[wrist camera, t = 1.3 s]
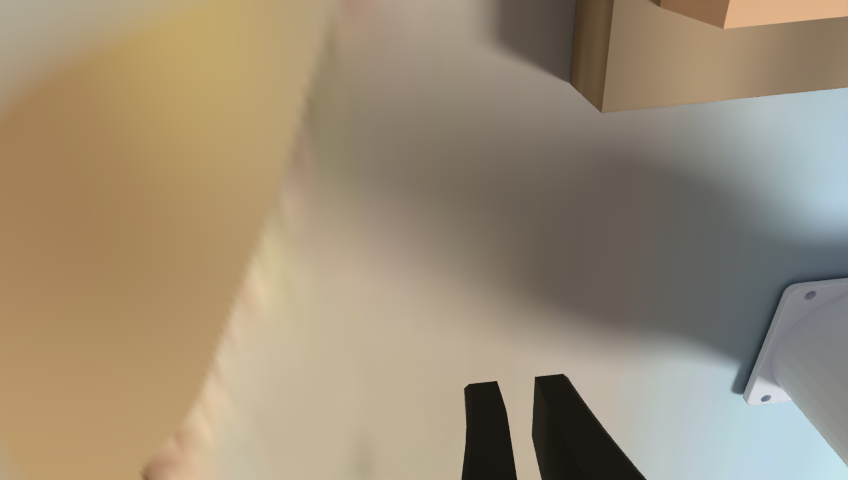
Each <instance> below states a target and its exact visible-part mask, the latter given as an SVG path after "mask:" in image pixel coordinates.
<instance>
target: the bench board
mask: <svg viewBox="0 0 848 480" xmlns="http://www.w3.org/2000/svg"><path fill="white" fill-rule="evenodd" d="M660 2H661V0H577V1H576V14H575V27H574V41H573V54H572V68H571V81H570V84H571V85H572V86H573V87H574V88H575V89H576V90H577V91H578V92H579V93H581V94H582V95H583V96H584V97H585V98H586V99H587V100H588V101H589V102H590V103H591V104H592V105H594V106H595V107H596V108H597V109H598V110H599V111H600V112H601V113H606V112H615V111H625V110H635V109H644V108H654V107H663V106H673V105H683V104H692V103H702V102H712V101H721V100H731V99H740V98H750V97H760V96H769V95H779V94H789V93H798V92H808V91H817V90H827V89H837V88H846V87H848V16H845V17H835V18H825V19H815V20H806V21H796V22H786V23H777V24H767V25H757V26H747V27H738V28H728V29H722V28H719V27H716V26H713V25H710V24H707V23H704V22H702V21H699V20H696V19H693V18H690V17H687V16H684V15H681V14H678V13H675V12H672V11H669V10H666V9H664V8H661V7H660Z"/></svg>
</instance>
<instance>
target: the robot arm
mask: <svg viewBox="0 0 848 480" xmlns="http://www.w3.org/2000/svg"><path fill="white" fill-rule="evenodd" d="M464 392H465V409H466V426H467V427H466V445H465V454H464V463H463V471H462V480H517V476H516V469H515V463H514V456H513V450H512V443H511V437H510V430H509V424H508V418H507V412H506V408H505V405H504V402H503V398H502V395H501V392H500V389H499V386H498V383H497V381H493V382H484V383H475V384H469V385H468V386H466V387H465V388H464ZM743 398H744V400H745V401H746V403H747V404H749V405H759V404H769V403H778V402H787V401H793V402H794V403H795V404H796V405H797V407H798V408H799V409H800V410H801V411H802V413H803V414H804V415H805V416H806V417H807V418H808V420H809V421H810V422H811V423H812V424H813V426H814V427H815V428H816V429H817V430H818V432H819V433H820V434H821V435H822V436H823V438H824V439H825V440H826V441H827V442H828V444H829V445H830V446H831V447H832V448H833V450H834V451H835V452H836V453H837V454H838V456H839V457H840V458H841V459H842V460H843V462H844V463H845V464H846V465H847V466H848V278H841V279H832V280H823V281H813V282H804V283H796V284H792V285H790V286H789V287H787V288H786V289H785V291H784V293H783V295H782V298H781V300H780V303H779V305H778V308H777V310H776V313H775V315H774V318H773V321H772V323H771V326H770V328H769V331H768V333H767V336H766V338H765V341H764V343H763V346H762V348H761V351H760V353H759V356H758V359H757V361H756V364H755V366H754V369H753V371H752V374H751V376H750V379H749V381H748V384H747V386H746V389H745V392H744V394H743ZM532 439H533V443H534V448H535V452H536V457H537V461H538V466H539V470H540V474H541V479H542V480H646V478H645V477H644V476H643V475H642V474H641V473H640V472H639V470H638V469H637V468H636V467H635V466H634V464H633V463H632V462H631V461H630V460H629V458H628V457H627V456H626V455H625V454H624V452H623V451H622V450H621V449H620V448H619V446H618V445H617V444H616V443H615V442H614V440H613V439H612V438H611V436H610V435H609V434H608V433H607V431H606V430H605V429H604V428H603V426H602V425H601V424H600V422H599V421H598V420H597V418H596V417H595V416H594V414H593V413H592V412H591V410H590V409H589V408H588V406H587V405H586V403H585V402H584V401H583V399H582V398H581V396H580V395H579V394H578V392H577V391H576V389H575V388H574V386H573V385H572V383H571V382H570V380H569V379H568V377H566V376H565V375H564V374H558V375H549V376H539V377H535V387H534V405H533V424H532Z"/></svg>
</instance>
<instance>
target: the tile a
mask: <svg viewBox="0 0 848 480" xmlns="http://www.w3.org/2000/svg"><path fill="white" fill-rule="evenodd" d="M660 7H661V8H664V9H666V10H669V11H672V12H675V13H678V14H681V15H684V16H687V17H690V18H693V19H696V20H699V21H702V22H704V23H707V24H710V25H713V26H716V27H719V28H722V29H728V28H738V27H747V26H757V25H767V24H777V23H786V22H796V21H806V20H815V19H825V18H835V17H845V16H848V0H661V2H660Z"/></svg>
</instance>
